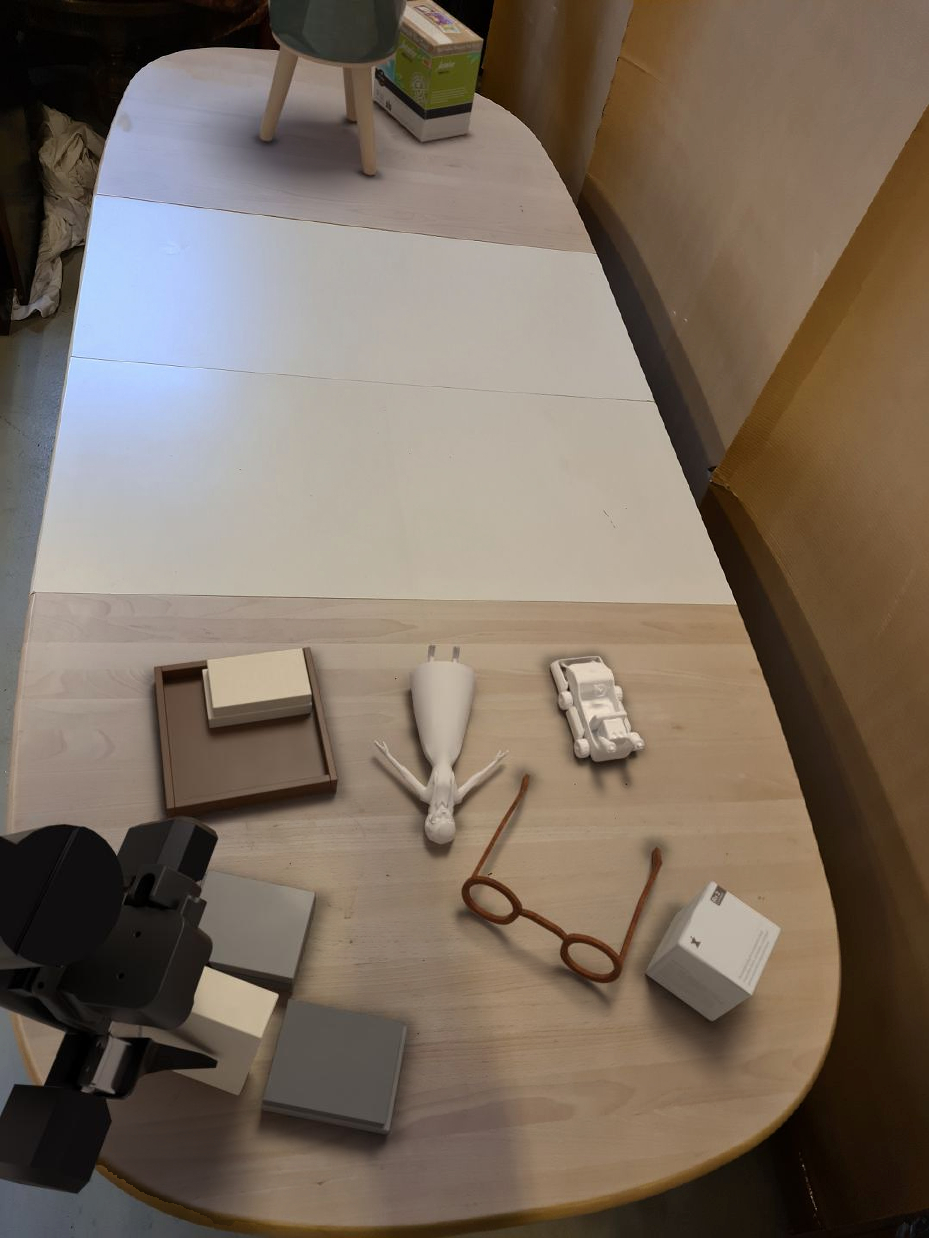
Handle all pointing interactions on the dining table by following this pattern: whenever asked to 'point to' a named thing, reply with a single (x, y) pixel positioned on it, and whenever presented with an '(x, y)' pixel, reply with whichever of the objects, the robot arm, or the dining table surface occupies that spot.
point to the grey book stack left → (256, 928)
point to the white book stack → (256, 687)
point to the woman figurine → (441, 737)
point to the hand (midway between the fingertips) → (222, 1033)
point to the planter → (335, 54)
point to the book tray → (236, 749)
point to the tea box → (430, 73)
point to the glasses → (547, 924)
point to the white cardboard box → (714, 952)
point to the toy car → (594, 709)
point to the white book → (221, 1028)
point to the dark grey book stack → (336, 1067)
